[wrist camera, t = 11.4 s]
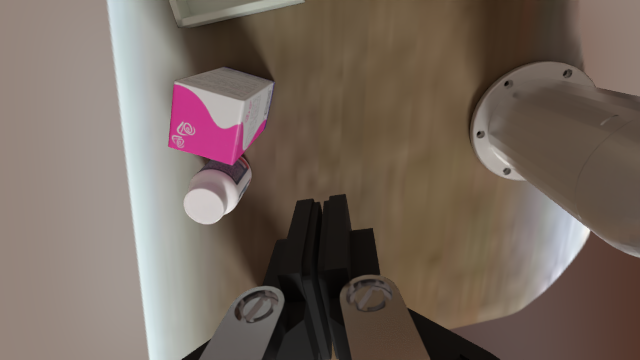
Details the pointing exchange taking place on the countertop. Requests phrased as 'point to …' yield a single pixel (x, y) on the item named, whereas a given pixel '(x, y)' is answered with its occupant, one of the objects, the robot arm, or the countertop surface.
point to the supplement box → (219, 113)
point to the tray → (220, 10)
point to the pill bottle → (216, 190)
